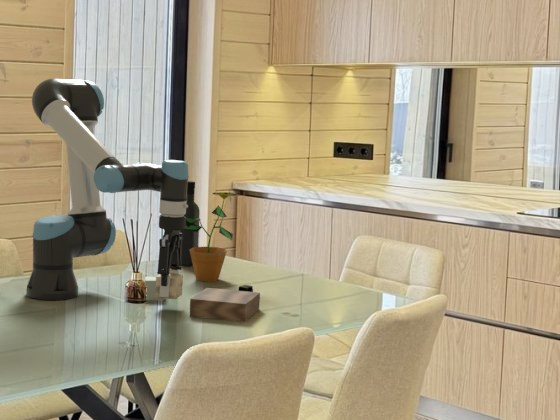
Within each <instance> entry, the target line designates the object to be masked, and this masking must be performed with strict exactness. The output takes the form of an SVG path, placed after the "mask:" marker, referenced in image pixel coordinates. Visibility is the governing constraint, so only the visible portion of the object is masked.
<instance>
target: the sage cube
mask: <svg viewBox="0 0 560 420" xmlns="http://www.w3.org/2000/svg"><path fill="white" fill-rule="evenodd" d="M145 283H146V286H147V292H146V295H147V296H146V300H145V301H165V300H166V298H159V297H155V292H156V276H145V278H144V284H145Z"/></svg>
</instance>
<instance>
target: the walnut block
mask: <svg viewBox="0 0 560 420" xmlns="http://www.w3.org/2000/svg"><path fill="white" fill-rule="evenodd" d="M260 295H261V293H260V292H257V291H255V292H254V291H253V292H247V291H238V290H234V289H222V288H211V287H206V288H205V289H203V290H202V291H200V292H199V293H197V294H196V295H194V296H193V297H190V298H189V317H193V318H203V319H214V320H223V321H235V322H246V321H248V320H249V319H251V318H252V316H253V315H255V314H256V313H257V312H258V311H260V299H261V297H260ZM257 310H258V311H257ZM256 311H257V312H256ZM255 312H256V313H255ZM254 313H255V314H254Z"/></svg>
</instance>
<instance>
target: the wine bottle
mask: <svg viewBox="0 0 560 420" xmlns="http://www.w3.org/2000/svg"><path fill="white" fill-rule="evenodd" d="M195 189H196V182H195V181H189V180H188V186H187V200H186V201H187V202H186V204H187V205H188V207H187V208H186V214H185V215H184V216H185V217H186V218H191V219H199V218H200V213H201V212H200V207H199V205H198V204H197V203H196V201H195ZM186 224H187V222H186V223H185V225H186ZM193 224H195V225H198V226H200V221H199V220H197V221H196V222H195V223H193ZM179 233H183V238H182V257H181V266H183V267H184V266H185V267H193V263H192V259H191V255H190V250H189V249H191V248H193V247H199V242H200V241H199V238H200V230H199V231H198V232H195V231H192V230H188V229H183V230H179Z"/></svg>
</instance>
